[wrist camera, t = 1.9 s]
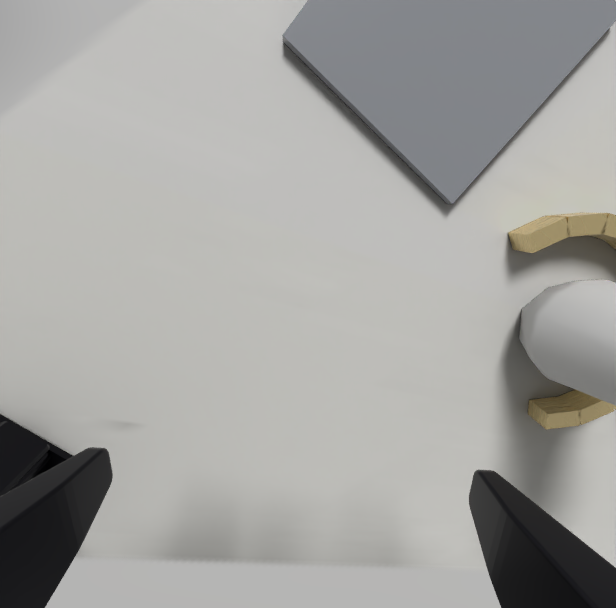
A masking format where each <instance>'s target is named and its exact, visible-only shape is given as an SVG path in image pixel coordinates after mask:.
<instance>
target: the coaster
mask: <svg viewBox="0 0 616 608" xmlns="http://www.w3.org/2000/svg"><path fill="white" fill-rule="evenodd" d="M615 21H616V1H615V0H308V1H307V3H306V4H305V5H304V7H303V8H302V9H301V11H300V12H299V14H298V15H297V16H296V18H295V19H294V20H293V22H292V23H291V24H290V26H289V27H288V29H287V30H286V31H285V33H284V34H283V42H284V43H285V44H286V45H287V46H288V47H289V48H290V49H291V50H292V51H293V52H294V53H295V54H296V55H297V56H298V57H299V58H300V59H301V60H302V61H303V62H304V63H305V64H306V65H307V66H308V67H309V68H310V69H311V70H312V71H313V72H314V73H315V74H316V75H317V76H318V77H319V78H320V79H321V80H322V81H323V82H324V83H325V84H326V85H327V86H328V87H329V88H330V89H331V90H332V91H333V92H334V93H335V94H337V95H338V96H339V97H340V98H341V99H342V100H343V101H344V102H345V103H346V104H347V105H348V106H349V107H350V108H351V109H352V110H353V111H354V112H355V113H356V114H357V115H358V116H359V117H360V118H361V119H362V120H363V121H364V122H365V123H366V124H367V125H368V126H369V127H370V128H371V129H372V130H373V131H374V132H375V133H376V134H377V135H378V136H379V137H380V138H381V139H382V140H383V141H384V142H385V143H386V144H387V145H388V146H389V147H390V148H391V149H392V150H393V151H394V152H395V153H396V154H397V155H398V156H399V157H400V158H401V159H402V160H403V161H404V162H405V163H406V164H407V165H408V166H409V167H410V168H411V169H412V170H413V171H414V172H415V173H416V174H417V175H418V176H420V177H421V178H422V179H423V180H424V181H425V182H426V183H427V184H428V185H429V186H430V187H431V188H432V189H433V190H434V191H435V192H436V193H437V194H438V195H439V196H440V197H441V198H442V199H443V200H444V201H445V202H446V203H447V204H453V203H454V202H455V201H456V199H457V198H458V197H459V196H460V195H461V194H462V193H463V192H464V191H465V189H466V188H467V187H468V186H469V185H470V184H471V183H472V182H473V180H474V179H475V178H476V177H477V176H478V175H479V174H480V173H481V171H482V170H483V169H484V168H485V167H486V166H487V165H488V164H489V162H490V161H491V160H492V159H493V158H494V157H495V156H496V155H497V153H498V152H499V151H500V150H501V149H502V148H503V147H504V146H505V144H506V143H507V142H508V141H509V140H510V139H511V138H512V137H513V136H514V134H515V133H516V132H517V131H518V130H519V129H520V128H521V127H522V125H523V124H524V123H525V122H526V121H527V120H528V119H529V118H530V116H531V115H532V114H533V113H534V112H535V111H536V110H537V109H538V107H539V106H540V105H541V104H542V103H543V102H544V101H545V100H546V98H547V97H548V96H549V95H550V94H551V93H552V92H553V91H554V90H555V88H556V87H557V86H558V85H559V84H560V83H561V82H562V81H563V79H564V78H565V77H566V76H567V75H568V74H569V73H570V72H571V70H572V69H573V68H574V67H575V66H576V65H577V64H578V63H579V61H580V60H581V59H582V58H583V57H584V56H585V55H586V54H587V52H588V51H589V50H590V49H591V48H592V47H593V46H594V45H595V43H596V42H597V41H598V40H599V39H600V38H601V37H602V36H603V35H604V33H605V32H606V31H607V30H608V29H609V28H610V27H611V26H612V24H613V23H614V22H615Z"/></svg>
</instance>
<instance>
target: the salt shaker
mask: <svg viewBox="0 0 616 608" xmlns="http://www.w3.org/2000/svg"><path fill="white" fill-rule="evenodd" d="M519 339H520V341H521V343H522V345H523V347H524V348H525V350H526V352H527V354H528V356H529V358H530V359H531V360H532V362H533V363H534V364H535V365H536V367H537V368H538V369H539V370H540V372H541V373H542V374H543V375H544V376H545V377H547V378H548V379H550V380H552V381H555V382H557V383H560V384H563V385H565V386H568V387H570V388H573V389H575V390H578V391H580V392H583V393H585V394H588V395H590V396H593V397H595V398H598V399H600V400H603V401H605V402H608V403H610V404H613V405H615V406H616V283H615V282H612V281H610V280H602V279H596V280H580V281H572V282H568V283H564V284H560V285H556V286H552V287H548V288H547V289H545V290H544V291H543V292H542V293H541V294H539V295H538V296H537V297H536V298H534V299H533V300H532V301H531V302H530V303H528V304H527V305H526V306H525V307H523V308H522V313H521V324H520V335H519Z"/></svg>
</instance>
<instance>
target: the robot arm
mask: <svg viewBox="0 0 616 608" xmlns="http://www.w3.org/2000/svg"><path fill="white" fill-rule="evenodd" d="M112 476H113V475H112V468H111V463H110V457H109V452H108V451H107V449H105V448H94V447H92V448H88V449H86V450H84V451H82V452H80V453H78V454H76V455H75V456H72V455H70V454H68V453H66V452H65V451H63V450H61V449H59V448H58V447H56V446H54V445H52V444H51V443H49V442H47V441H45V440H44V439H42V438H40V437H39V436H37V435H35V434H33V433H32V432H30V431H28V430H26V429H25V428H23V427H21V426H19V425H18V424H16V423H14V422H12V421H11V420H9V419H7V418H5V417H4V416H2V415H0V608H45V606H46V605H47V603H48V601H49V600H50V597H51V596H52V594H53V593H54V591H55V589H56V588H57V586H58V584H59V583H60V581H61V579H62V578H63V576H64V574H65V573H66V571H67V569H68V568H69V566H70V564H71V563H72V561H73V559H74V557H75V556H76V554H77V552H78V550H79V549H80V547H81V545H82V543H83V541H84V539H85V537H86V535H87V533H88V531H89V529H90V526H91V524H92V522H93V520H94V518H95V516H96V514H97V512H98V510H99V508H100V506H101V504H102V502H103V500H104V497H105V495H106V493H107V491H108V489H109V487H110V485H111V482H112ZM469 505H470V509H471V513H472V516H473V520H474V523H475V527H476V530H477V534H478V537H479V541H480V545H481V548H482V552H483V555H484V559H485V562H486V566H487V569H488V572H489V575H490V578H491V581H492V584H493V587H494V589H495V592H496V595H497V597H498V600H499V603H500V605H501V608H616V568H615V567H614V566H613V565H611V564H610V563H609V562H608V561H606V560H605V559H604V558H603V557H601V556H600V555H599V554H598V553H596V552H595V551H594V550H593V549H591V548H590V547H589V546H588V545H586V544H585V543H584V542H583V541H581V540H580V539H579V538H578V537H576V536H575V535H574V534H573V533H571V532H570V531H569V530H568V529H566V528H565V527H564V526H563V525H561V524H560V523H559V522H558V521H556V520H555V519H554V518H553V517H551V516H550V515H549V514H548V513H546V512H545V511H544V510H543V509H541V508H540V507H539V506H538V505H536V504H535V503H534V502H533V501H531V500H530V499H529V498H528V497H526V496H525V495H524V494H523V493H521V492H520V491H519V490H518V489H516V488H515V487H514V486H513V485H511V484H510V483H509V482H508V481H506V480H505V479H504V478H503V477H501V476H500V475H499V474H498V473H496V472H494V471H491V470H476V471H475V473H474V475H473V480H472V485H471V489H470V494H469Z"/></svg>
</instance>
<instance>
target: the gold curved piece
mask: <svg viewBox="0 0 616 608" xmlns="http://www.w3.org/2000/svg"><path fill="white" fill-rule="evenodd" d="M508 234H509V237H510V241H511V244H512V248H513V250H518V251H523V252H529V253H534V252H537V251H539V250H541V249H543V248H545V247H548V246H550V245H552V244H554V243H556V242H559V241H561V240H563V239H565V238H567V237H573V236H584V235H589V236H592V237H595V238H599V239H602V240H605V241H606V242H607V243H608V244H610V245H611V246H612V247H613V248H614V249H615V250H616V215H613V214H610V213H572V214H561V215H550V216H545V217H541V218H539V219H537V220H535V221H532V222H530V223H528V224H526V225H524V226H522V227H519V228H517V229H515V230H513V231H511V232H509V233H508ZM613 408H614V409H615V410H616V406H615V405H613V404H610V403H608V402H605V401H603V400H600V399H598V398H595V397H593V396H590V395H588V394H585V393H583V392H580V391H578V390H572V391H570V392H568V393H565V394H563V395H561V396H558V397H549V398H540V399H532V400H529V406H528V415H529V416H531V417H532V418H533V419H534V420H535V421H537V422H538V423H539V424H540V425H541V426H543V427H544V428H545V429H554V428H563V427H571V426H579V425H580V424H581V425H583V424H585V423H587V422H590V421H592V420H594V419H597V418H599V417H601V416H604V415H606V414H608V413H611V412H613V411H614V409H613Z"/></svg>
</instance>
